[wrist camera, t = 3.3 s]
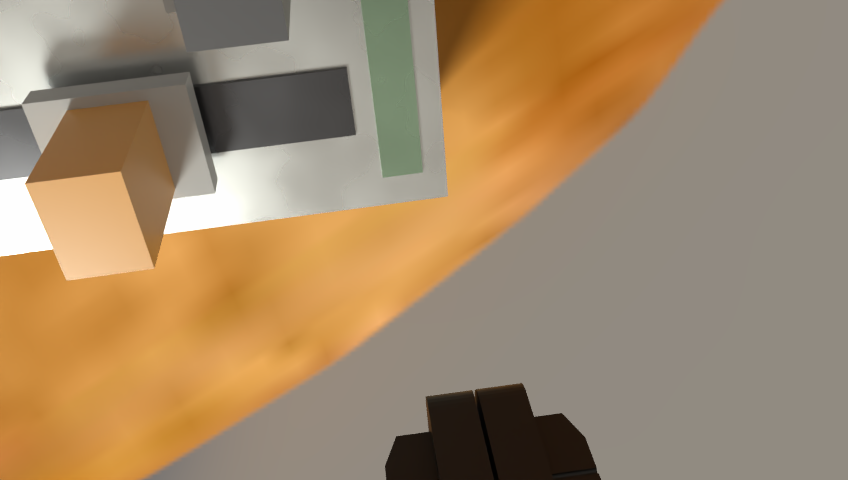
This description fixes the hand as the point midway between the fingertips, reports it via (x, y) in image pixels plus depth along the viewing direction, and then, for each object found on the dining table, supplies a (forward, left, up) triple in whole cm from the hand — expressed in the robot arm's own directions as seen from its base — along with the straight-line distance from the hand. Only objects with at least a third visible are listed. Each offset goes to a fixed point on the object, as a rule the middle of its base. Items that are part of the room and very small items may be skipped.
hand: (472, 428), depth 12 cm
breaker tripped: (0, -7, -11) cm, 14 cm away
